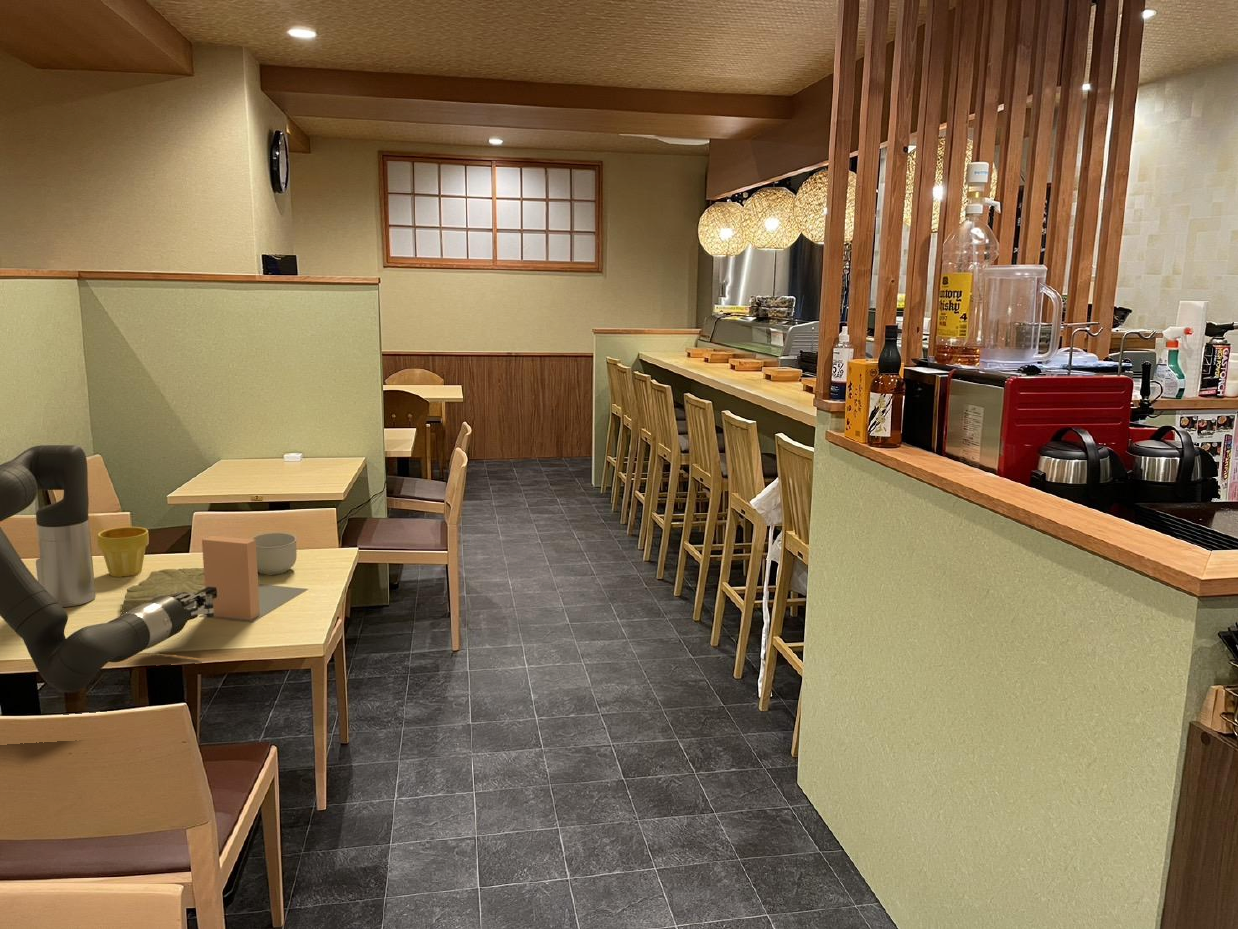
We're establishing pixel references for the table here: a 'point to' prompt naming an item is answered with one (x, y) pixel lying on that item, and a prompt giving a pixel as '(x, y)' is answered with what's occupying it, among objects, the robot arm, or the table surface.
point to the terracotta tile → (232, 576)
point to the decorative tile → (164, 585)
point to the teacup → (275, 552)
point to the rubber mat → (269, 600)
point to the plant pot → (123, 549)
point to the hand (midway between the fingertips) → (213, 591)
